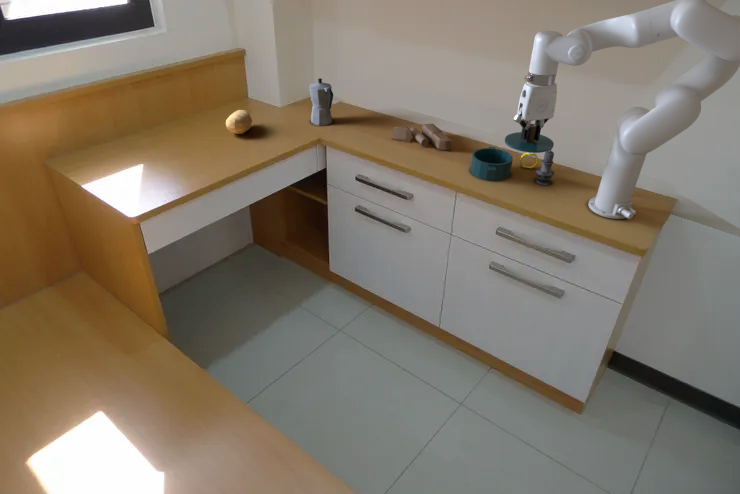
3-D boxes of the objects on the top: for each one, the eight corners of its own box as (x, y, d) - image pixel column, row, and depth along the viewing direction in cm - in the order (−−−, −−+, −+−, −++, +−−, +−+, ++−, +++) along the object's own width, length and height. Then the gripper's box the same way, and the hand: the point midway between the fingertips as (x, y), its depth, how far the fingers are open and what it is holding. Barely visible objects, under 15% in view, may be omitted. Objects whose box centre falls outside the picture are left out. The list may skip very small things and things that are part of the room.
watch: (518, 168, 182) (522, 152, 178) (518, 165, 184) (521, 149, 180) (536, 170, 181) (539, 154, 177) (535, 166, 183) (539, 151, 179)
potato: (256, 125, 211) (254, 106, 206) (248, 139, 199) (246, 119, 195) (233, 124, 211) (230, 105, 207) (223, 138, 200) (220, 118, 195)
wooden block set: (432, 119, 204) (452, 136, 190) (431, 133, 207) (450, 151, 193) (392, 124, 199) (410, 142, 185) (391, 137, 202) (409, 156, 188)
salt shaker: (552, 186, 171) (560, 153, 164) (534, 184, 172) (541, 151, 165) (551, 178, 175) (559, 145, 169) (533, 176, 176) (540, 144, 170)
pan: (508, 162, 186) (511, 146, 182) (510, 186, 170) (513, 169, 167) (471, 158, 188) (473, 143, 184) (469, 182, 172) (472, 165, 169)
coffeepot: (303, 119, 217) (301, 76, 207) (322, 114, 222) (321, 72, 212) (323, 130, 207) (321, 86, 197) (342, 125, 212) (342, 82, 202)
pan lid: (550, 137, 161) (554, 118, 157) (555, 156, 149) (559, 136, 146) (503, 134, 163) (506, 115, 160) (504, 152, 152) (507, 132, 148)
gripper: (523, 85, 140) (512, 148, 150) (573, 79, 144) (559, 141, 155) (509, 77, 146) (499, 138, 156) (557, 72, 150) (545, 132, 160)
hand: (529, 139), depth 155 cm, fingers closed on pan lid, 2 cm apart
